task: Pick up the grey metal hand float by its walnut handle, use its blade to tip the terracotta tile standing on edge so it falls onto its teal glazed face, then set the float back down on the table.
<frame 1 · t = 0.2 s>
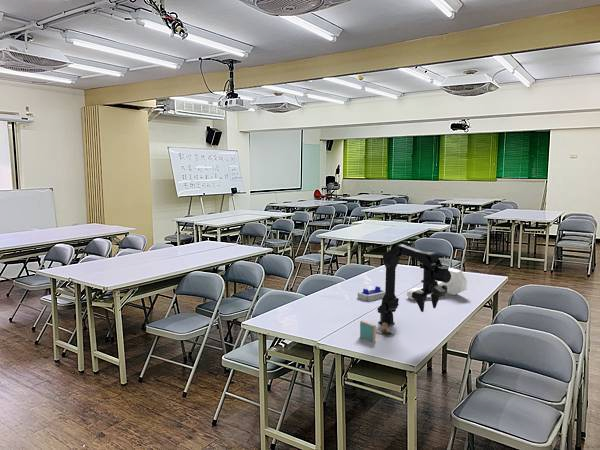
hand: (428, 310, 222), 14 cm above the table, fingers open, 9 cm apart
float: (384, 334, 231), on the table
cable clip: (372, 297, 296), resting in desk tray
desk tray: (372, 297, 296), on the table
white mallet: (438, 297, 297), on the table
tile: (368, 338, 225), on the table
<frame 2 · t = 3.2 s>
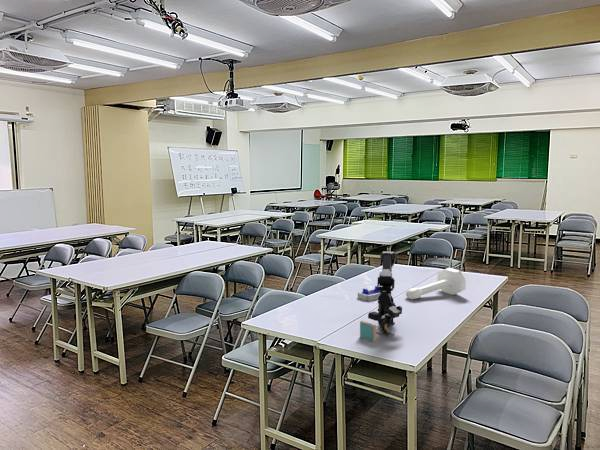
hand: (384, 329, 231), 2 cm above the table, fingers closed on float, 2 cm apart
float: (384, 333, 231), on the table, touching gripper
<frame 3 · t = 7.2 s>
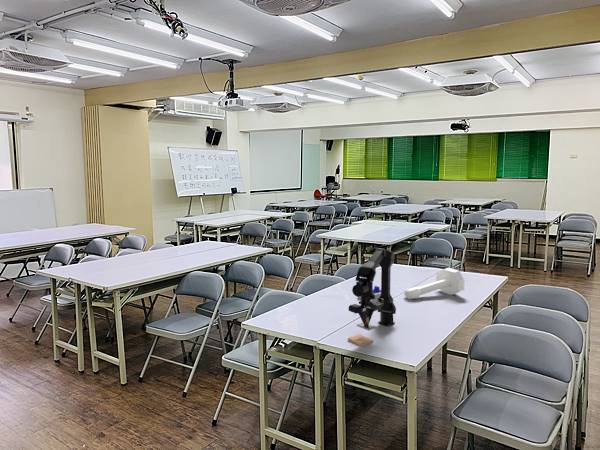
hand: (366, 323, 222), 8 cm above the table, fingers closed on float, 2 cm apart
float: (366, 327, 223), point 6 cm above the table, touching gripper
tile: (366, 336, 224), point 1 cm above the table, tilted 90°
when the fingers open (3 cm above the table, at t = 11.1 s): float drops 1 cm, on the table.
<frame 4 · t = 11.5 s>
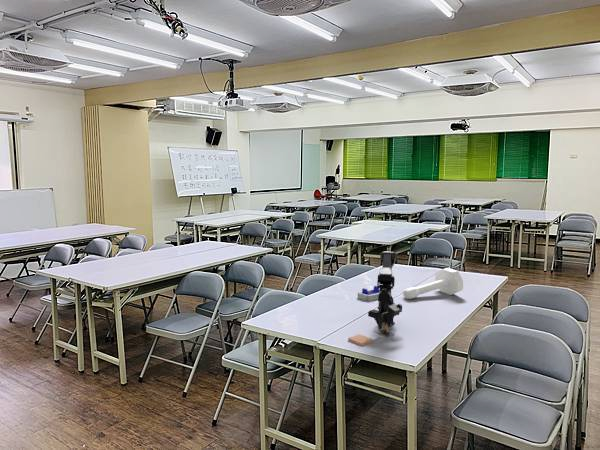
hand: (384, 327, 231), 3 cm above the table, fingers open, 6 cm apart
float: (384, 334, 231), on the table
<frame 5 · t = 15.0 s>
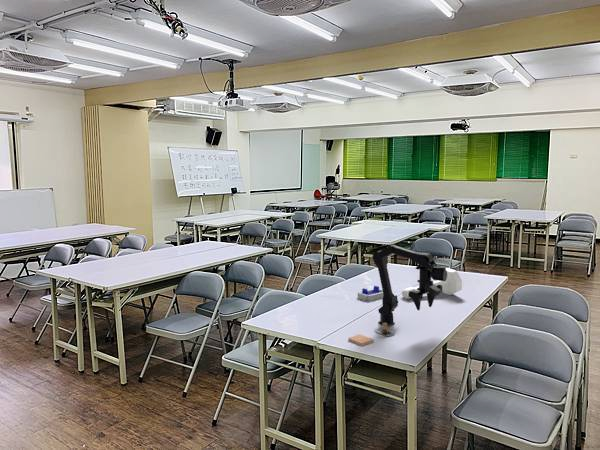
hand: (424, 308, 232), 12 cm above the table, fingers open, 9 cm apart
at the end: tile tilted 90°; tile inside the target area (0.1 cm from its centre), point 1.2 cm above the table; float inside the target area (0.0 cm from its centre), on the table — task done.
